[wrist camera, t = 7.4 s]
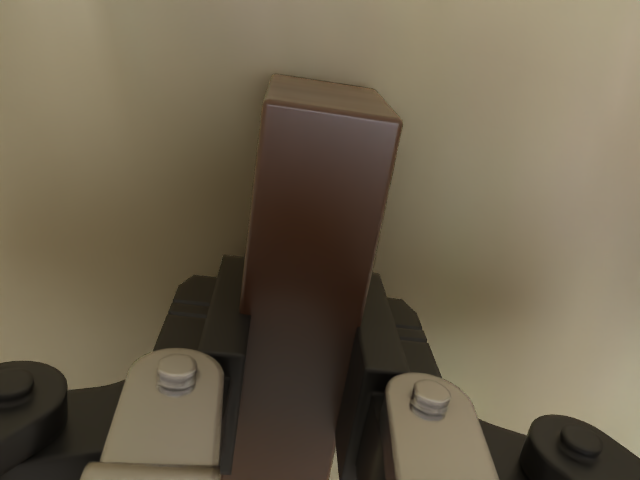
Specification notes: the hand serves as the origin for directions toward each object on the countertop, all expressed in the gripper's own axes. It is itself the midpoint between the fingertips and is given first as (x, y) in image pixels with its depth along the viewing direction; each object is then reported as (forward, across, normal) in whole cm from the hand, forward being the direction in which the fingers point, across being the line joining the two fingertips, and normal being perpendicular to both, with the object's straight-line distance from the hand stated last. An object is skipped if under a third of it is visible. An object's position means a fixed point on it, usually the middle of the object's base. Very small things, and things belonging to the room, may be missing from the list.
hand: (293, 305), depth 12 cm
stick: (+1, 0, 0) cm, 1 cm away
